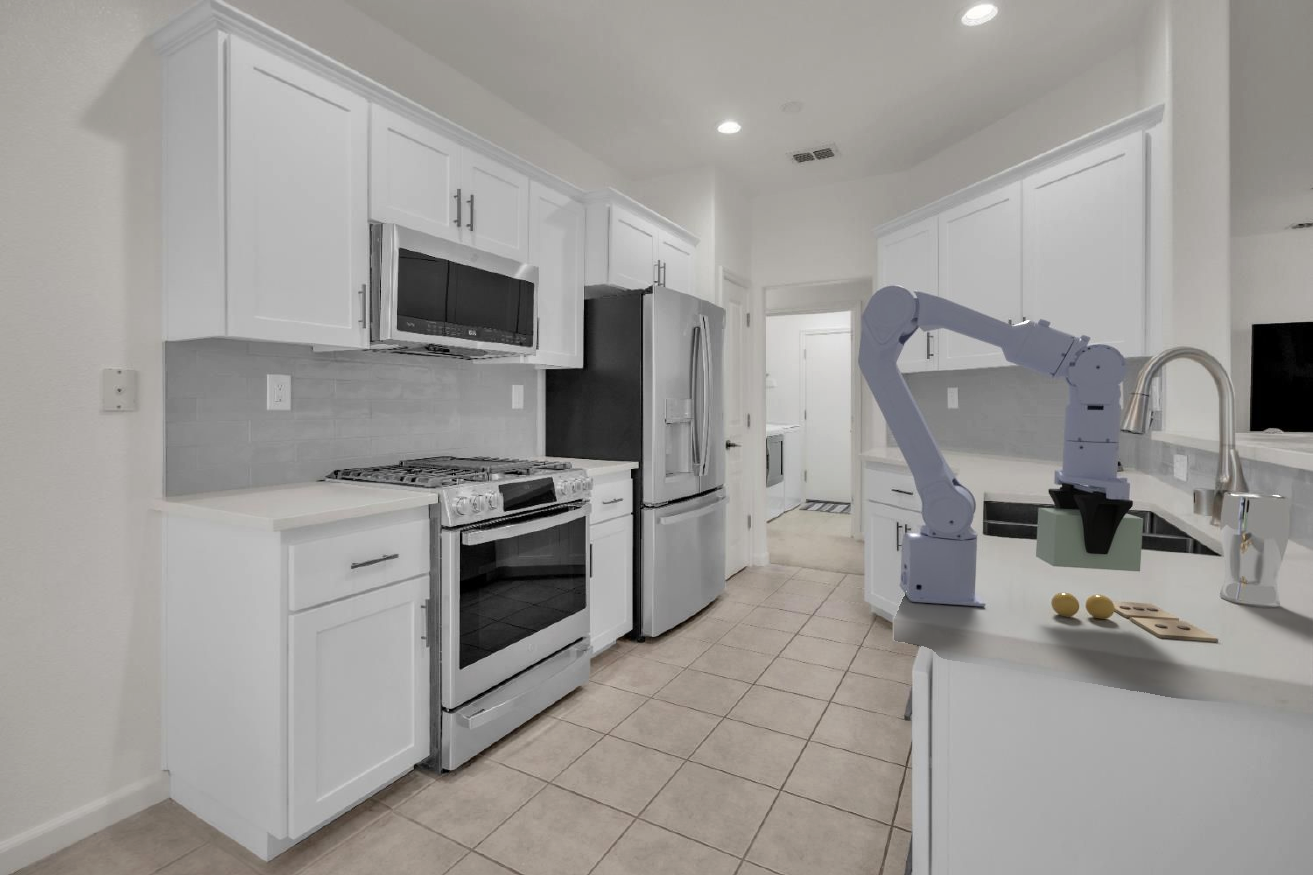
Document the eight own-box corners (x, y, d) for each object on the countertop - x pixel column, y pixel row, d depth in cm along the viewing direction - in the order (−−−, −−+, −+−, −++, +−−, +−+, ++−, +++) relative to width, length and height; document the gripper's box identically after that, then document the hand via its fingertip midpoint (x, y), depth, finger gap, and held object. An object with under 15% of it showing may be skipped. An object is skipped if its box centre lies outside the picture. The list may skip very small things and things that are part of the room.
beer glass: (1298, 611, 83) (1306, 499, 83) (1238, 606, 85) (1244, 497, 84) (1259, 595, 90) (1266, 492, 89) (1204, 592, 91) (1210, 490, 91)
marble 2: (1092, 621, 78) (1093, 597, 78) (1080, 613, 81) (1081, 590, 81) (1118, 623, 77) (1120, 599, 77) (1106, 615, 80) (1107, 592, 80)
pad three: (1125, 617, 79) (1125, 613, 79) (1101, 603, 85) (1101, 599, 85) (1178, 621, 78) (1179, 617, 78) (1150, 606, 84) (1150, 602, 84)
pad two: (1159, 637, 73) (1159, 633, 73) (1130, 620, 78) (1130, 616, 78) (1218, 641, 72) (1218, 637, 71) (1184, 624, 77) (1184, 620, 77)
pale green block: (1053, 566, 77) (1056, 514, 77) (1035, 556, 83) (1038, 507, 82) (1140, 571, 76) (1143, 518, 75) (1116, 561, 81) (1119, 511, 80)
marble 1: (1057, 618, 79) (1058, 595, 78) (1046, 611, 82) (1047, 588, 81) (1083, 620, 78) (1084, 597, 78) (1072, 613, 81) (1073, 590, 81)
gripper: (1162, 445, 70) (1155, 564, 71) (1096, 439, 85) (1091, 537, 85) (1093, 444, 72) (1087, 560, 72) (1039, 437, 86) (1035, 535, 87)
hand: (1085, 548), depth 79 cm, fingers closed on pale green block, 5 cm apart
